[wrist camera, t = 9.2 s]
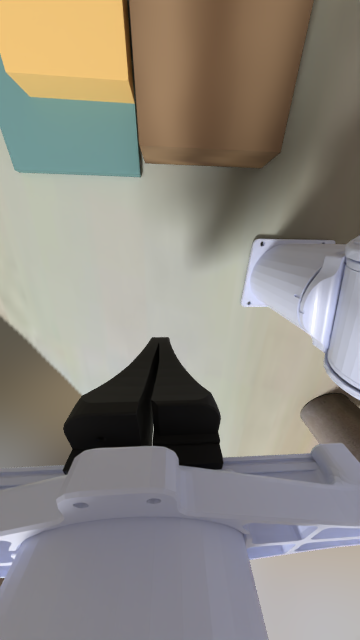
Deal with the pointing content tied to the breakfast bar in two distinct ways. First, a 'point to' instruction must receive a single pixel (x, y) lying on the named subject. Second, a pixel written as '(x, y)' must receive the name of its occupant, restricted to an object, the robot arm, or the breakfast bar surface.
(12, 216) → the breakfast bar surface
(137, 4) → the brown flat block
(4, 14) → the tile
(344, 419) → the pillar candle
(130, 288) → the breakfast bar surface
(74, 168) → the mat
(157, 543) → the robot arm
